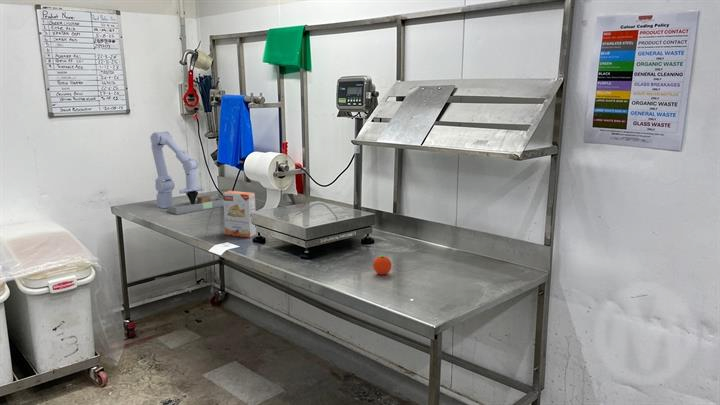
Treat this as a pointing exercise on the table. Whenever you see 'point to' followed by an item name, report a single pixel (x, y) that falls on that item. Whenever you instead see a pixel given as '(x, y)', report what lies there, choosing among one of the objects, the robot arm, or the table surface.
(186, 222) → the table surface
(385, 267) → the clementine
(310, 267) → the table surface
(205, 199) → the walnut block
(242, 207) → the cracker box
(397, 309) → the table surface
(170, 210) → the trap channel
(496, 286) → the table surface
